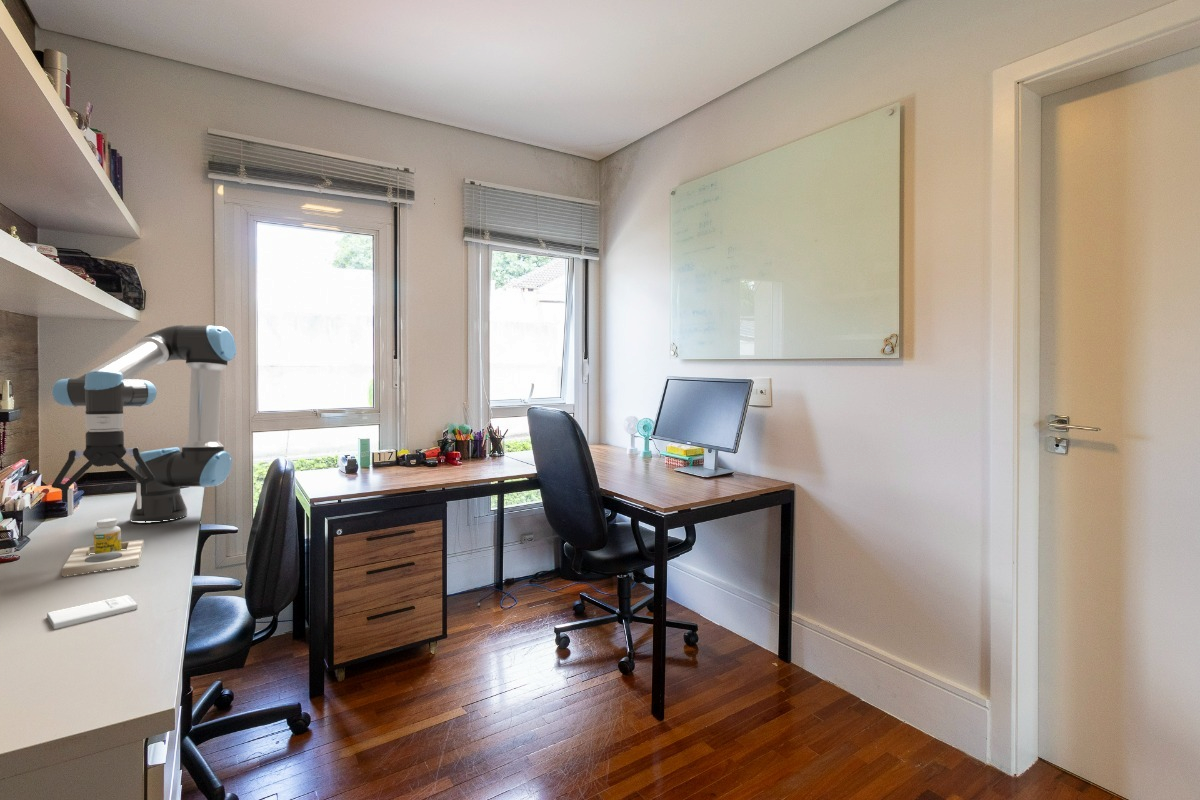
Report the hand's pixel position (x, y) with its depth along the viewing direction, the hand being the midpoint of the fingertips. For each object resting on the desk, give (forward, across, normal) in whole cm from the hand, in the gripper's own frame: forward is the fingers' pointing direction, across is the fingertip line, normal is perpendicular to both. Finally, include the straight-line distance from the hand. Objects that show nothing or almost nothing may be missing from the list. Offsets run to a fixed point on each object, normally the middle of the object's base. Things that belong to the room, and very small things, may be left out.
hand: (105, 511), depth 150 cm
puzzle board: (+12, 0, -4) cm, 13 cm away
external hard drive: (+13, +2, -45) cm, 47 cm away
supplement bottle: (+12, 0, 0) cm, 12 cm away
